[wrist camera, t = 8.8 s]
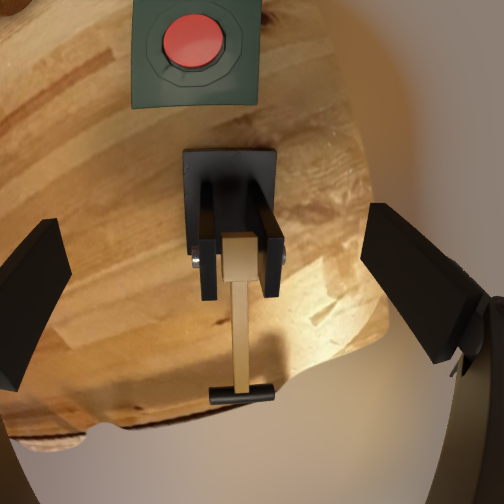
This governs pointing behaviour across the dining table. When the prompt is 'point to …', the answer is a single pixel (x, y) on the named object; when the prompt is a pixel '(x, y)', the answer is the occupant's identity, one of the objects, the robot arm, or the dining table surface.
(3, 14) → the disposable coffee cup
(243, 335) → the switch lever
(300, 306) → the dining table surface
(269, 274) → the switch bracket
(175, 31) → the button
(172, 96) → the button housing
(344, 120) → the dining table surface
